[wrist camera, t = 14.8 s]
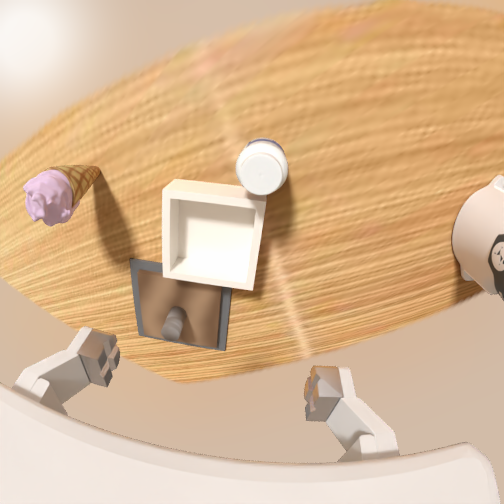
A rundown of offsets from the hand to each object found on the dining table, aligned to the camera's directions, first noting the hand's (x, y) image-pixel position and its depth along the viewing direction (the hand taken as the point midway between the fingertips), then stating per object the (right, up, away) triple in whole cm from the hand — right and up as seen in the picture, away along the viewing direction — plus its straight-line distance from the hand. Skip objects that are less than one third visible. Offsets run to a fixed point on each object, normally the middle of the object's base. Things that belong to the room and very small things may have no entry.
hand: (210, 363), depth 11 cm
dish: (-3, +8, +29) cm, 30 cm away
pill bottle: (+3, +16, +25) cm, 29 cm away
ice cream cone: (-20, +16, +26) cm, 37 cm away
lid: (-10, -5, +36) cm, 37 cm away
